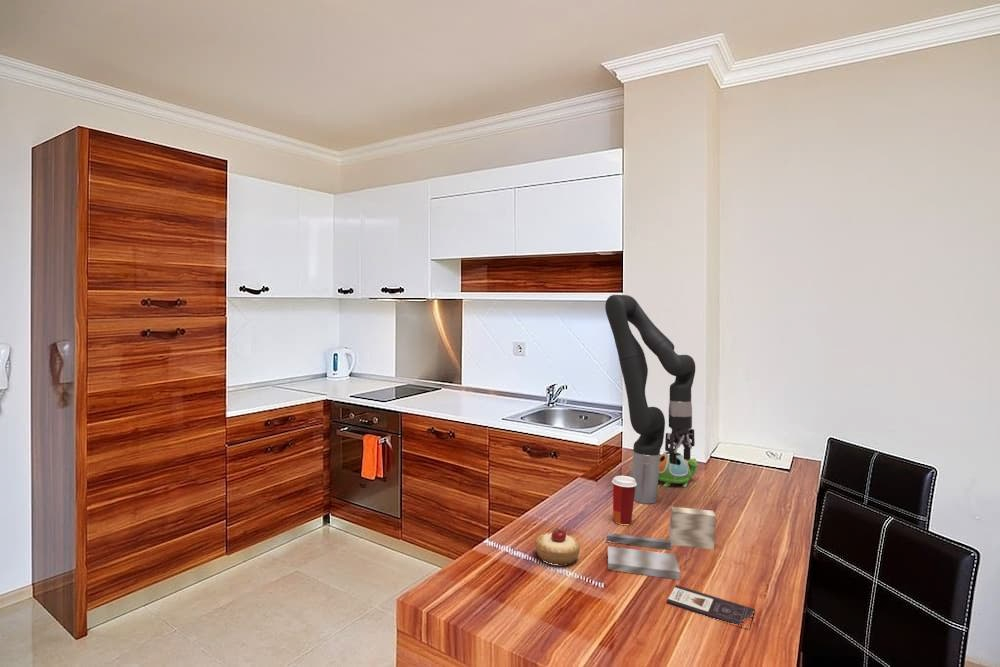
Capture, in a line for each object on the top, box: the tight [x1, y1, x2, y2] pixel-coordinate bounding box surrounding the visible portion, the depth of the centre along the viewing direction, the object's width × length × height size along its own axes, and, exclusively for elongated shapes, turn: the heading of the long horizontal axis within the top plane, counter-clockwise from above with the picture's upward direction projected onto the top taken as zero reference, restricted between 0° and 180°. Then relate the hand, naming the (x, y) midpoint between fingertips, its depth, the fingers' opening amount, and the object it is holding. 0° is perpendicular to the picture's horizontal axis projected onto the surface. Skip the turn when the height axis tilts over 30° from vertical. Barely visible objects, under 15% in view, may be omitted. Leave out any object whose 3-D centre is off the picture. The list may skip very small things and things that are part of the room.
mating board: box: [606, 532, 681, 581], centre depth 151 cm, size 18×19×2 cm
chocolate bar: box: [666, 584, 756, 626], centre depth 128 cm, size 9×1×18 cm
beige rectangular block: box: [668, 506, 717, 550], centre depth 161 cm, size 12×4×10 cm, turn 80°
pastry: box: [535, 527, 581, 565], centre depth 149 cm, size 12×12×9 cm
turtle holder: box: [658, 451, 699, 489], centre depth 216 cm, size 12×18×12 cm
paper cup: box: [611, 475, 637, 525], centre depth 175 cm, size 8×8×14 cm
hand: (680, 461), depth 185 cm, fingers open, 8 cm apart
